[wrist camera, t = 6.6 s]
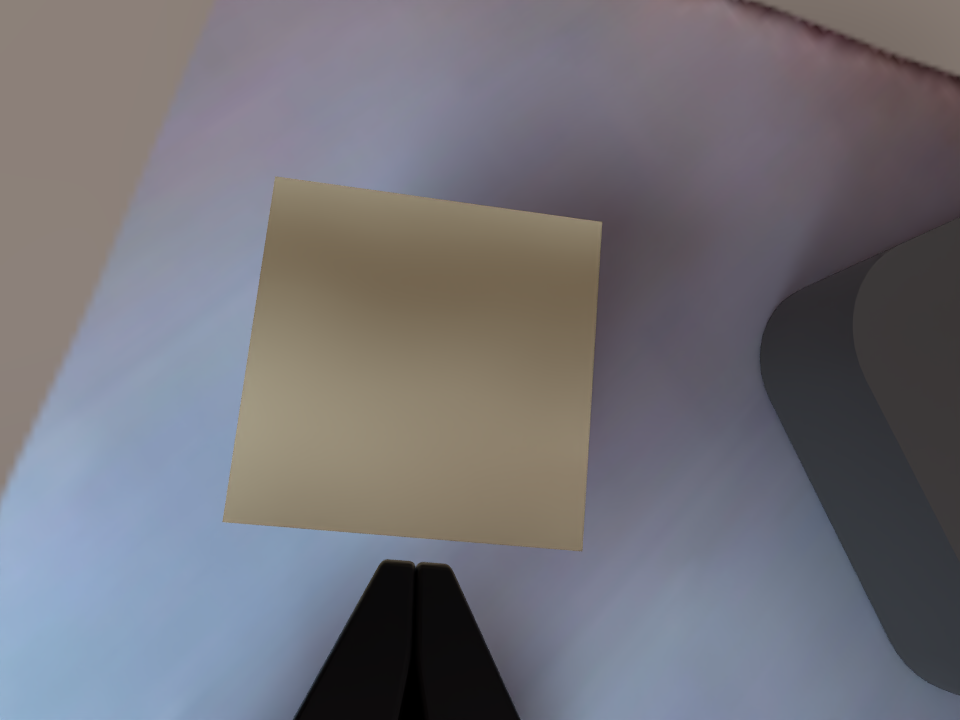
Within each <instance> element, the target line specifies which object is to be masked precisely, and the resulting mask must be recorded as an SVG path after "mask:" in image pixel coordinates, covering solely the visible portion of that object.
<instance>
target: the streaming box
mask: <svg viewBox="0 0 960 720" xmlns="http://www.w3.org/2000/svg"><path fill="white" fill-rule="evenodd" d="M760 364H761V374H762V378H763V382H764V386H765V389H766V391H767V394H768V396H769V398H770V401H771V403H772V405H773V407H774V409H775V411H776V413H777V415H778V417H779V419H780V421H781V423H782V425H783V427H784V429H785V431H786V433H787V435H788V437H789V439H790V441H791V443H792V445H793V447H794V449H795V451H796V453H797V455H798V457H799V459H800V461H801V463H802V465H803V467H804V469H805V471H806V473H807V475H808V477H809V479H810V481H811V483H812V485H813V487H814V489H815V491H816V493H817V495H818V497H819V499H820V501H821V503H822V505H823V507H824V509H825V511H826V514H827V516H828V518H829V520H830V522H831V524H832V526H833V528H834V530H835V532H836V534H837V536H838V538H839V540H840V542H841V544H842V546H843V548H844V550H845V552H846V554H847V556H848V558H849V560H850V562H851V564H852V566H853V568H854V570H855V572H856V574H857V576H858V578H859V580H860V582H861V584H862V586H863V588H864V590H865V592H866V594H867V596H868V598H869V600H870V602H871V604H872V606H873V608H874V610H875V612H876V614H877V616H878V618H879V620H880V622H881V624H882V626H883V628H884V630H885V632H886V634H887V636H888V638H889V640H890V642H891V644H892V645H893V647H894V649H895V651H896V652H897V654H898V655H899V656H900V657H901V659H902V660H903V661H904V663H905V664H906V665H907V666H908V667H909V668H910V669H911V670H912V671H913V672H914V673H916V674H917V675H918V676H920V677H921V678H922V679H924V680H925V681H927V682H928V683H930V684H932V685H934V686H937V687H939V688H941V689H943V690H946V691H949V692H952V693H954V694H957V695H960V217H959V218H957V219H955V220H953V221H950V222H948V223H946V224H944V225H942V226H939V227H937V228H935V229H933V230H931V231H928V232H926V233H924V234H922V235H920V236H917V237H915V238H913V239H911V240H909V241H906V242H904V243H902V244H900V245H898V246H895V247H893V248H891V249H889V250H887V251H884V252H882V253H880V254H878V255H876V256H873V257H871V258H869V259H867V260H865V261H862V262H860V263H858V264H856V265H854V266H851V267H849V268H847V269H845V270H843V271H840V272H838V273H836V274H834V275H832V276H829V277H827V278H825V279H823V280H821V281H819V282H816V283H814V284H812V285H810V286H808V287H805V288H803V289H801V290H799V291H797V292H796V293H794V294H792V295H791V296H789V297H788V298H787V299H786V300H785V301H783V302H782V303H781V304H780V306H779V307H778V308H777V309H776V310H775V311H774V313H773V315H772V316H771V318H770V320H769V322H768V324H767V326H766V329H765V331H764V334H763V339H762V344H761V353H760Z"/></svg>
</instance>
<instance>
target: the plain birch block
mask: <svg viewBox="0 0 960 720" xmlns="http://www.w3.org/2000/svg"><path fill="white" fill-rule="evenodd" d="M601 232H602V222H599V221H591V220H584V219H577V218H570V217H563V216H555V215H548V214H541V213H534V212H527V211H520V210H512V209H505V208H498V207H491V206H484V205H476V204H469V203H462V202H455V201H448V200H441V199H433V198H426V197H419V196H412V195H405V194H397V193H390V192H383V191H376V190H369V189H361V188H354V187H347V186H340V185H333V184H326V183H318V182H311V181H304V180H297V179H290V178H282V177H275V182H274V188H273V195H272V202H271V208H270V215H269V221H268V228H267V234H266V241H265V247H264V254H263V261H262V267H261V274H260V280H259V287H258V293H257V300H256V306H255V313H254V320H253V326H252V333H251V339H250V346H249V352H248V359H247V365H246V372H245V379H244V385H243V392H242V398H241V405H240V411H239V418H238V424H237V431H236V437H235V444H234V451H233V457H232V464H231V470H230V477H229V483H228V490H227V496H226V503H225V510H224V516H223V522H229V523H241V524H253V525H265V526H278V527H290V528H302V529H315V530H327V531H339V532H351V533H364V534H376V535H388V536H401V537H413V538H425V539H437V540H450V541H462V542H474V543H487V544H499V545H511V546H523V547H536V548H548V549H560V550H573V551H582V548H583V532H584V515H585V498H586V482H587V465H588V448H589V432H590V415H591V399H592V382H593V365H594V349H595V332H596V315H597V299H598V282H599V265H600V249H601Z"/></svg>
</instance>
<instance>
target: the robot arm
mask: <svg viewBox="0 0 960 720" xmlns="http://www.w3.org/2000/svg"><path fill="white" fill-rule="evenodd" d="M293 720H520V717H519V715H518V713H517V711H516V709H515V706H514V704H513V702H512V700H511V698H510V695H509V693H508V691H507V689H506V687H505V684H504V682H503V680H502V678H501V676H500V673H499V671H498V669H497V667H496V665H495V662H494V660H493V658H492V656H491V654H490V651H489V649H488V647H487V645H486V643H485V640H484V638H483V636H482V634H481V632H480V629H479V627H478V625H477V623H476V621H475V618H474V616H473V614H472V612H471V609H470V607H469V605H468V603H467V601H466V598H465V596H464V594H463V592H462V590H461V587H460V585H459V583H458V581H457V579H456V576H455V574H454V572H453V570H452V569H451V567H450V566H449V565H447V564H441V563H428V562H421V563H419V564H417V566H416V569H415V564H414V563H413V562H411V561H402V560H389V559H387V560H384V561H382V562H381V563H380V564H379V566H378V568H377V570H376V571H375V573H374V575H373V577H372V579H371V580H370V582H369V584H368V586H367V588H366V589H365V591H364V593H363V595H362V596H361V598H360V600H359V602H358V604H357V605H356V607H355V609H354V611H353V613H352V614H351V616H350V618H349V620H348V622H347V623H346V625H345V627H344V629H343V631H342V632H341V634H340V636H339V638H338V640H337V641H336V643H335V645H334V647H333V649H332V650H331V652H330V654H329V656H328V657H327V659H326V661H325V663H324V665H323V666H322V668H321V670H320V672H319V674H318V675H317V677H316V679H315V681H314V683H313V684H312V686H311V688H310V690H309V692H308V693H307V695H306V697H305V699H304V701H303V702H302V704H301V706H300V708H299V710H298V711H297V713H296V715H295V717H294V718H293Z"/></svg>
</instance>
